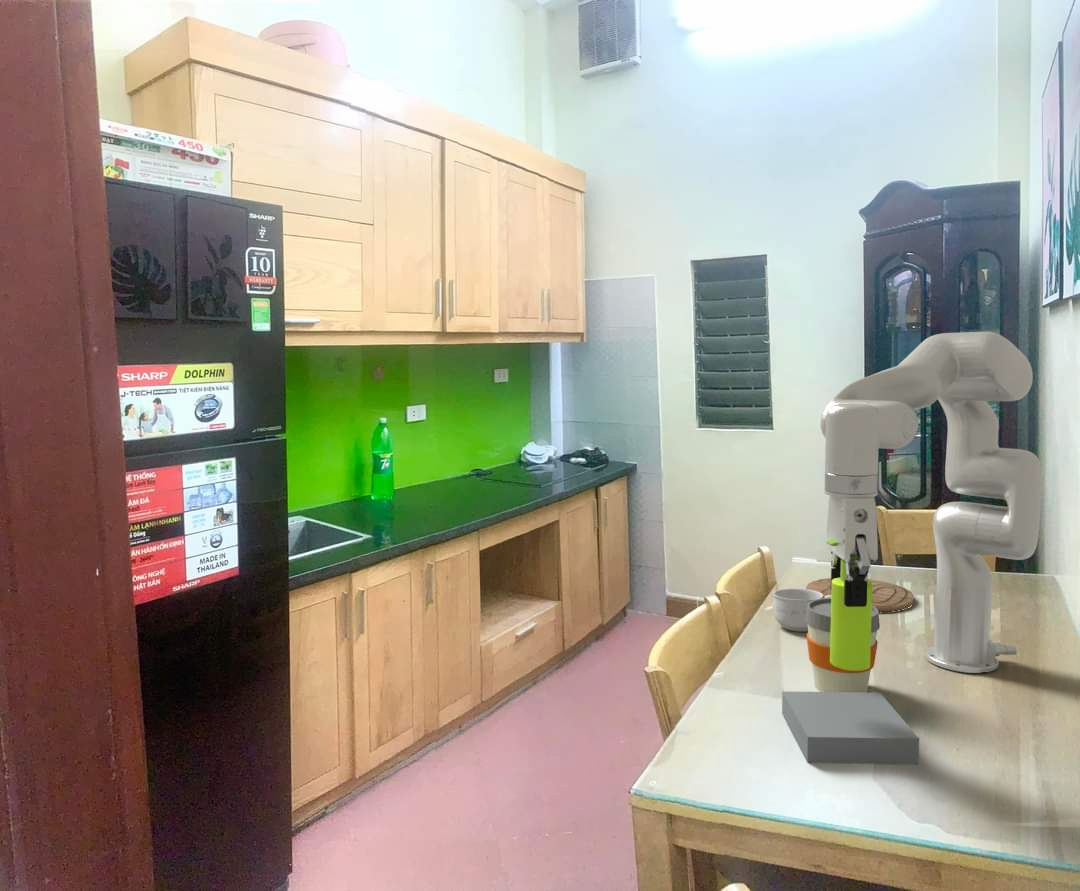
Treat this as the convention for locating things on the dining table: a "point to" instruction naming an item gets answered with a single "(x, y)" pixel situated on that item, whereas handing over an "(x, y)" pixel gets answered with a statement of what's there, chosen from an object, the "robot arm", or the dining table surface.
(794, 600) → the teacup
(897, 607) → the trivet
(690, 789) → the dining table surface
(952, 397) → the robot arm
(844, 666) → the soap dispenser
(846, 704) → the stand
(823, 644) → the reusable coffee cup
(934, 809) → the dining table surface
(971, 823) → the dining table surface
